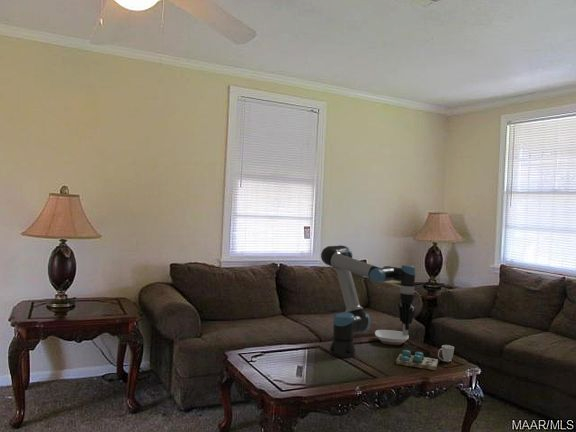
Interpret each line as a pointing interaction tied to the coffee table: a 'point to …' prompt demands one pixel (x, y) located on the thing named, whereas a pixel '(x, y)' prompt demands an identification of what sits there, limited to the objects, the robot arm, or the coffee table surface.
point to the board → (426, 363)
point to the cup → (447, 352)
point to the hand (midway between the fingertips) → (405, 335)
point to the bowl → (391, 337)
